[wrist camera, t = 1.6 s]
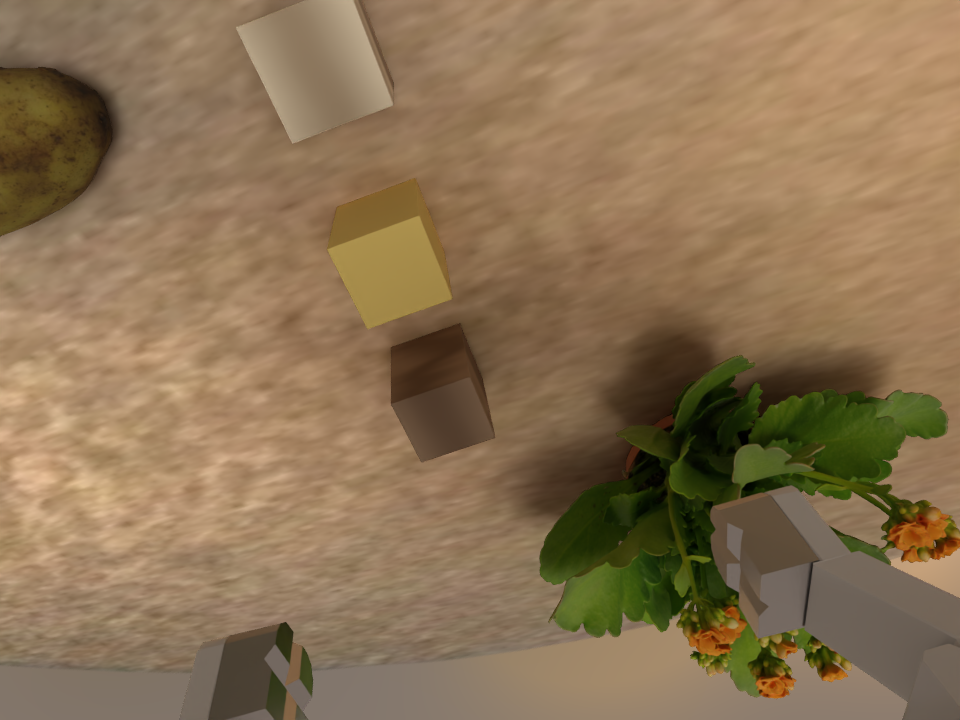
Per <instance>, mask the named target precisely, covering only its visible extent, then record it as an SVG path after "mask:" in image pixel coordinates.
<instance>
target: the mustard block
mask: <svg viewBox="0 0 960 720" xmlns="http://www.w3.org/2000/svg"><path fill="white" fill-rule="evenodd" d="M327 251H328V252H329V254H330V256H331V258H332V260H333V262H334V264H335V266H336V268H337V270H338V272H339V274H340V276H341V278H342V280H343V282H344V284H345V286H346V288H347V290H348V292H349V294H350V296H351V298H352V300H353V302H354V304H355V306H356V308H357V310H358V312H359V314H360V316H361V318H362V320H363V322H364V324H365V325H366V327H367V329H369V328H372V327H375V326H378V325H381V324H383V323H386V322H389V321H392V320H395V319H397V318H400V317H403V316H406V315H409V314H412V313H414V312H417V311H420V310H423V309H426V308H429V307H431V306H434V305H437V304H440V303H443V302H446V301H448V300H451V299H453V298H452V292H451V287H450V281H449V275H448V270H447V264H446V258H445V253H444V250H443V247H442V245H441V242H440V240H439V237H438V235H437V232H436V229H435V227H434V224H433V222H432V219H431V217H430V214H429V212H428V209H427V207H426V204H425V201H424V199H423V196H422V194H421V191H420V189H419V186H418V184H417V181H416V178H414V179H411V180H408V181H406V182H403V183H400V184H398V185H395V186H392V187H390V188H387V189H384V190H382V191H379V192H376V193H373V194H371V195H368V196H365V197H363V198H360V199H357V200H355V201H352V202H349V203H347V204H344V205H341V206H338V207H337V209H336V213H335V218H334V222H333V226H332V230H331V234H330V238H329V243H328V247H327Z"/></svg>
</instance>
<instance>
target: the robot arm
mask: <svg viewBox="0 0 960 720" xmlns="http://www.w3.org/2000/svg"><path fill="white" fill-rule="evenodd" d="M710 520H711V522H712V524H713V525H714V527H715V529H716V530H715V531H714V533H713V534H712V535H711V549H712V553H713V556H714V560H715V563H716V565H717V568H718V570H719V572H720V574H721V576H722V578H723V580H724V581H725V583H726V585H727V586H728V587H730V588H732V589H734V590H735V591H737V592H739V607H740V609H741V611H742V613H743V614H744V616H745V618H746V619H747V621H748V623H749V624H750V626H751V628H752V629H753V631H754V633H755V635H756V636H757V638H758V639H759V638H763V637H767V636H771V635H775V634H779V633H783V632H788V631H792V630H796V629H800V628H804V627H805V629H804V630H805V631H807V632H808V633H809V634H811V635H812V636H814V637H815V638H817V639H818V640H819V641H821V642H822V643H824V644H825V645H827V646H828V647H830V648H831V649H832V650H834V651H835V652H837V653H838V654H840V655H841V656H842V657H844V658H845V659H847V660H848V661H850V662H851V663H853V664H854V665H855V666H857V667H858V668H860V669H861V670H863V671H864V672H865V673H867V674H868V675H870V676H871V677H873V678H874V679H876V680H877V681H879V682H880V683H881V684H883V685H884V686H886V687H887V688H888V689H890V690H891V691H893V692H894V693H896V694H897V695H899V696H900V697H902V698H903V699H904V700H906V701H907V702H908V703H907V707H906V710H905V713H904V716H903V719H902V720H960V598H958V597H956V596H954V595H952V594H950V593H948V592H945V591H943V590H941V589H939V588H937V587H935V586H933V585H931V584H928V583H926V582H924V581H922V580H920V579H918V578H916V577H913V576H912V575H909V574H907V573H905V572H903V571H901V570H899V569H897V568H894V567H893V566H890V565H888V564H886V563H884V562H882V561H880V560H878V559H876V558H873V557H871V556H869V555H867V554H865V553H863V552H861V551H856V552H852V553H851V552H850V551H849V550H848V548H847V547H846V546H845V545H844V544H843V542H842V541H841V540H840V539H839V538H838V536H837V535H836V534H835V533H834V532H833V530H832V529H831V528H830V527H829V526H828V524H827V523H826V522H825V521H824V520H823V519H822V517H821V516H820V515H819V514H818V513H817V511H816V510H815V509H814V508H813V507H812V505H811V504H810V503H809V502H808V501H807V499H806V498H805V497H804V496H803V495H802V493H801V492H800V491H799V490H798V489H797V488H795V487H794V486H792V485H791V486H786V487H782V488H779V489H775V490H772V491H768V492H765V493H758V494H755V495H751V496H748V497H744V498H741V499H737V500H733V501H730V502H726V503H723V504H719V505H716V506H713V507H712V509H711V515H710ZM292 641H293V631H292V629H291V628H290V627H289V625H288V624H287V623H286V622H284V623H280V624H276V625H272V626H268V627H263V628H259V629H255V630H251V631H247V632H243V633H238V634H234V635H230V636H226V637H222V638H218V639H215V640H211V641H207V642H203V643H202V645H201V646H200V648H199V650H198V651H197V653H196V657H195V661H194V665H193V669H192V673H191V676H190V680H189V684H188V688H187V692H186V696H185V699H184V703H183V708H182V711H181V715H180V719H179V720H308V719H307V717H306V716H305V714H304V713H303V711H304V709H305V707H306V706H307V704H308V703H309V701H310V700H311V698H312V688H313V677H312V668H311V663H310V660H309V657H308V654H307V652H306V651H305V649H304V648H303V646H301V645H299V644H296V643H294V642H292Z"/></svg>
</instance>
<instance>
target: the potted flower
mask: <svg viewBox="0 0 960 720" xmlns="http://www.w3.org/2000/svg"><path fill="white" fill-rule="evenodd" d="M755 364H756V363H754V362H753V363H749V362H748V359H746V358H743V356H742V355H739V356H736V357H732V358H730V359H728V360H726V361H724V362H722V363H721V364H719V365H717V366H715V367H714V368H712V369H711V370H710V371H708V372H707V373H705V374H704V375H703V376H702V377H701V378H700V379H699V380H698V381H697V382H696V381H692V382H690V383H689V384H687V385H686V386H685V387H684V389H683V390H682V392H681V394H680V395H679V396H677V397H676V399H675V407H674V408H673V409H672V415H669V416H666V417H664V418H663V419H661V420H660V421H658V422H657V423H656V424H654V425H652V426H651V425H633V426H629V427H627V428H625V429H623V430H622V431H619V432H617V433H616V434H618V435H617V437H623V438H625V440H626V441H628V442H629V443H631V444H632V445H633V447H632V448H631V450H630V453H629V455H628V457H627V461H626V472H625V471H624V470H622V475H623V476H624V478H626V477H627V479H626V480H620V481H616V482H607V483H604V484H598V485H594V486H592V487H591V488H590V489H588V490H585V491H584V492H583V493H582V494H581V495H580V496H579V497H578V499H577V500H576V501H575V502H574V503H573V504H572V505H571V506H570V507H569V508H568V510H567V511H566V512H565V513H564V514H563V515H562V516H561V517H560V518H559V520H558V521H557V522H556V523H555V525H554V527H553V528H552V530H551V531H550V532H549V533H548V535H547V537H546V539H545V541H544V546H543V548H542V549H541V552H540V563H541V567H540V575H541V577H542V578H543V579H544V580H545V581H546V582H551V583H552V584H553V585H556V584H561V583H563V582H564V581H565V580H566V584H565V588H564V592H563V595H562V598H561V600H560V602H559V604H558V605H557V607H556V609H555V610H554V612H553V614H552V616H551V617H550V619H549V621H548V623H550V621H551V620H552V618H553V619H554V620H555V622H556V624H557V625H558V626H559V627H560V628H562V629H563V630H567V631H571V632H577V630H578V629H579V628H580V625H581V623H583V624H584V628H585V630H586V632H587V633H588V634H589V635H591V636H594V637H596V638H600V637H602V636H603V635H604V634H605V631H606V629H608V631H609V633H610V634H611V635H612V636H613V637H618V636H619V635H620V633H621V629H620V628H621V626H622V613H623V612H624V613H625V615H626V617H627V618H628V619H629V620H630V621H631V622H640V621H641V620H642V621H644V622H646V623H647V624H654V625H655V626H656V627H657V629H658V630H659V631H660V632H663V631H666V630H667V628H668V626H669V619H672V616H677V615H678V614H679V613H681V614H682V615H681V616H680V620H679V621H678V622H677V627H678V628H683V634H684V635H685V637H687V638H688V641H689V645H690V646H691V647H694V646H696V648H697V650H698V651H699V652H696V651H693V652H694V653H693V654H691V655H690V656H691V659H694V660H696V659H698V664H699V666H702V667H703V668H704V667H705V666H706V671H707V674H708V676H710V677H711V676H712V675H715V674H716V672H718V673H720V674H722V673H723V672H724V671H725V672H726V673H728V672H729V671H730V670H731V674H730V677H731V679H732V680H733V681H734V683H735V685H736V687H737V689H738V690H739V691H746V692H747V693H748V694H749V695H750V696H753V697H759V696H761V695H762V696H764V697H768V698H782V697H785V696H786V695H789V691H788V689H789V690H793V689H794V682H796V680H795V679H793V678H791V676H790V675H791V674H792V671H791V668H790V667H789V666H788V665H786V664H785V661H784V660H782V658H784V657H785V658H787V655H788V654H791V652H792V653H796V652H797V649H801V648H802V649H804V651H805V654H806V656H805V660H804V661H806V660H808V662H809V665H810V667H811V668H813V667H814V666H816V667H817V671H818V674H819V676H820V677H821V678H822V680H823V681H826V680H827V681H829V682H833V681H834V680H835V679H837V680H841V679H843V678H844V677H848V675H847V674H846V673H845V672H844V671H843V670H842V669H841V668H840V667H838V666H836V665H835V664H833V663H835V662H837V663H839V664H840V665H841V666H842V667H843V668H844V669H846V670H848V671H850V670H851V669H852V666H851V662H850V661H848V660H847V659H845V658H844V657H842V656H841V655H840V654H838V653H837V652H835V651H834V650H832V649H831V648H830V647H828V646H827V645H825V644H824V643H822V642H821V641H819V640H818V639H817V638H815V637H814V636H812V635H811V634H809V633H808V632H807V631H805V630H804V629H805V627H804V628H800V629H796V630H792V631H788V632H783V633H779V634H775V635H771V636H767V637H763V638H759V639H758V638H757V636H756V635H755V633H754V631H753V629H752V628H751V626H750V624H749V623H748V621H747V619H746V618H745V616H744V614H743V613H742V611H741V609H740V607H739V592H737V591H735V590H734V589H732V588H730V587H728V586H727V585H726V583H725V581H724V580H723V578H722V576H721V574H720V572H719V570H718V568H717V565H716V563H715V560H714V556H713V553H712V549H711V535H712V534H713V533H714V531H715V530H716V529H715V527H714V525H713V524H712V522H711V520H710V515H711V509H712V507H713V506H716V505H719V504H723V503H726V502H730V501H733V500H737V499H741V498H744V497H748V496H751V495H755V494H758V493H765V492H768V491H772V490H775V489H779V488H782V487H786V486H791V485H792V486H794V487H795V488H797V489H798V490H799V491H800V492H802V491H803V490H804V491H805V492H806V493H807V494H809V495H811V496H813V495H815V491H817V490H818V492H819V493H822V494H823V495H824V496H826V497H829V496H833V498H835V499H836V498H838V499H841V500H848V499H850V498H851V491H853V492H854V493H856V494H858V495H859V496H861V497H862V498H864V499H866V500H867V501H869V502H870V503H872V504H874V505H875V506H877V507H878V508H880V509H881V510H882V511H884V512H885V513H886V514H887V515H889V516H890V517H889V519H888V521H887V522H885V523H884V524H883V525H882V527H881V529H882V530H883V531H886V532H887V535H884V536H882V537H881V539H882V540H886V541H887V542H888V543H887V545H886V546H885V547H884V548H881V549H879V548H878V546H876V545H870V544H868V543H866V542H864V541H862V540H859V539H857V538H855V537H852V536H849V535H845V534H843V533H841V532H839V531H838V530H836V529H834V528H832V527H830V526H829V525H828V526H829V527H830V528H831V529H832V530H833V532H834V533H835V534H836V535H837V536H838V538H839V539H840V540H841V541H842V542H843V544H844V545H845V546H846V547H847V548H848V550H849V551H850V552H851V553H852V552H856V551H861V552H863V553H865V554H867V555H869V556H871V557H873V558H876V559H878V560H880V561H882V562H884V563H886V564H888V565H890V566H891V561H890V560H889V559H888V558H887V556H886V555H885V554H884V553H885V552H886V550H887V549H891V548H895V547H896V548H897V549H900V550H903V551H904V554H903V555H902V557H901V561H902V562H903V561H906V560H908V561H909V562H911V563H913V562H915V561H918V562H922V561H924V562H928V560H929V558H932V559H938V560H939V559H940V558H941V557H943V558H945V555H946V556H950V555H951V554H952V553H953V552H954V551H956V550H957V549H958V548H959V547H960V532H959V529H957V528H956V524H955V522H954V521H953V520H952V519H951V518H952V516H950V515H945V514H941V511H940V509H938V508H936V507H929V506H930V505H932V504H931V503H930V502H928V501H926V500H921V501H918V502H916V503H915V504H912V502H911V501H909V500H905V499H904V500H900V499H898V498H897V497H895V496H893V495H891V494H888V492H889V491H890V490H891V489H892V486H891V485H890V484H887V485H881V486H880V485H877V484H875V483H878V482H880V481H882V480H884V479H885V478H887V477H888V476H889V475H890V474H891V472H892V467H891V465H890V464H889V463H888V462H886V461H883V460H888V461H890V460H893V459H894V458H896V457H898V451H897V450H899V449H900V447H901V444H902V443H903V442H904V440H905V438H906V435H908V436H911V437H917V436H920V437H922V438H924V439H930V438H932V437H934V438H938V437H941V436H943V435H945V434H946V433H947V429H948V426H947V423H948V416H947V414H946V412H945V411H943V410H941V409H940V408H939V407H941V405H942V403H941V402H940V401H939V400H938V399H936V398H935V397H933V396H931V395H923V393H912V392H911V393H903V392H902V390H896V391H894V392H893V393H891V394H890V395H889V396H888V397H887V398H886V399H880V398H875V397H868V398H865V393H864V392H862V391H854V392H851V393H849V394H847V395H838V393H837V392H836V391H835V390H833V389H826V390H823V391H821V392H820V393H819V392H811V393H809V394H807V395H804V396H803V397H802V398H798V397H797V396H794V395H793V396H790V397H789V398H788V399H786V400H785V401H781V402H780V403H779V404H777V405H770V406H769V407H768V408H767V410H766V411H765V413H764V414H763V415H762V417H760V418H757V417H758V416H759V412H758V411H757V409H758V406H759V404H760V403H761V400H760V399H759V396H760V395H761V394H762V392H763V391H762V390H760V389H759V387H760V384H757V382H755V383H754V384H753V385H752V387H751V388H750V390H749V392H748V393H747V394H746V395H745V397H744V398H741V399H739V398H740V397H733V396H734V395H735V394H736V393H737V389H735V388H733V387H728V386H729V385H730V384H731V383H732V382H733V381H734V380H735V377H736V376H735V375H736V374H738V373H740V372H742V371H745V370H747V369H750V368H752V367H754V366H755ZM733 408H734V409H733ZM731 409H733V410H732V411H731V412H730V410H731ZM754 420H755V424H752V421H754ZM753 426H754V427H753ZM751 427H753V428H751ZM869 481H870V482H872V483H870V482H869ZM865 492H866V493H865ZM867 493H870V494H875V495H877V496H878V497H880V498H881V499H882V500H883V501H884V502H885V503H886V504H887V505H889V506H890V507H891V508H892V509H891V510H889V509H888V508H887V507H886V506H884V505H883V504H882V503H880V502H879V501H878V500H876V499H875V498H873V497H872V496H870V495H868V494H867ZM632 528H633V529H632ZM630 530H631V532H630V533H629V534H628V535H627V533H628V531H630ZM619 541H623V542H622V543H621V544H620V545H619V546H618V543H619ZM933 541H935V542H936V547H935V546H934V542H933ZM690 599H691V600H690ZM690 601H692V602H691V603H690V604H689V606H688V608H687V609H683V608H684V606H685V604H686V603H688V602H690ZM695 604H696V608H697V612H695V611H693V610H694V605H695ZM792 636H793V638H794V642H795V643H794V642H791V639H792Z"/></svg>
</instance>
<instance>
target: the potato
mask: <svg viewBox="0 0 960 720" xmlns="http://www.w3.org/2000/svg"><path fill="white" fill-rule="evenodd" d="M111 141H112V126H111V122H110V119H109V116H108V113H107V110H106V107H105V104H104V102H103V101H102V99H101V98H100V96H99V95H98V93H97V92H96V91H95V90H92V89H91V88H89V87H88V86H87V85H85V84H83V83H81V82H79V81H78V80H76V79H74V78H72V77H70V76H67V75H65V74H62V73H60V72H59V71H57V70H56V69H52V68H46V67H38V68H2V67H0V236H2V235H5V234H7V233H10V232H13V231H15V230H18V229H20V228H23V227H26V226H28V225H30V224H33V223H35V222H37V221H39V220H41V219H42V218H44V217H46V216H48V215H50V214H52V213H54V212H56V211H58V210H60V209H61V208H63V207H64V206H66V205H67V204H69V203H70V202H72V201H73V200H75V199H76V198H77V197H78V196H79V195H81V194H82V193H83V192H84V191H85V190H86V188H87V187H88V185H89V184H90V182H91V181H92V179H93V177H94V175H95V173H96V171H97V169H98V167H99V165H100V163H101V161H102V159H103V157H104V155H105V153H106V152H107V150H108V148H109V146H110V143H111Z"/></svg>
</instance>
